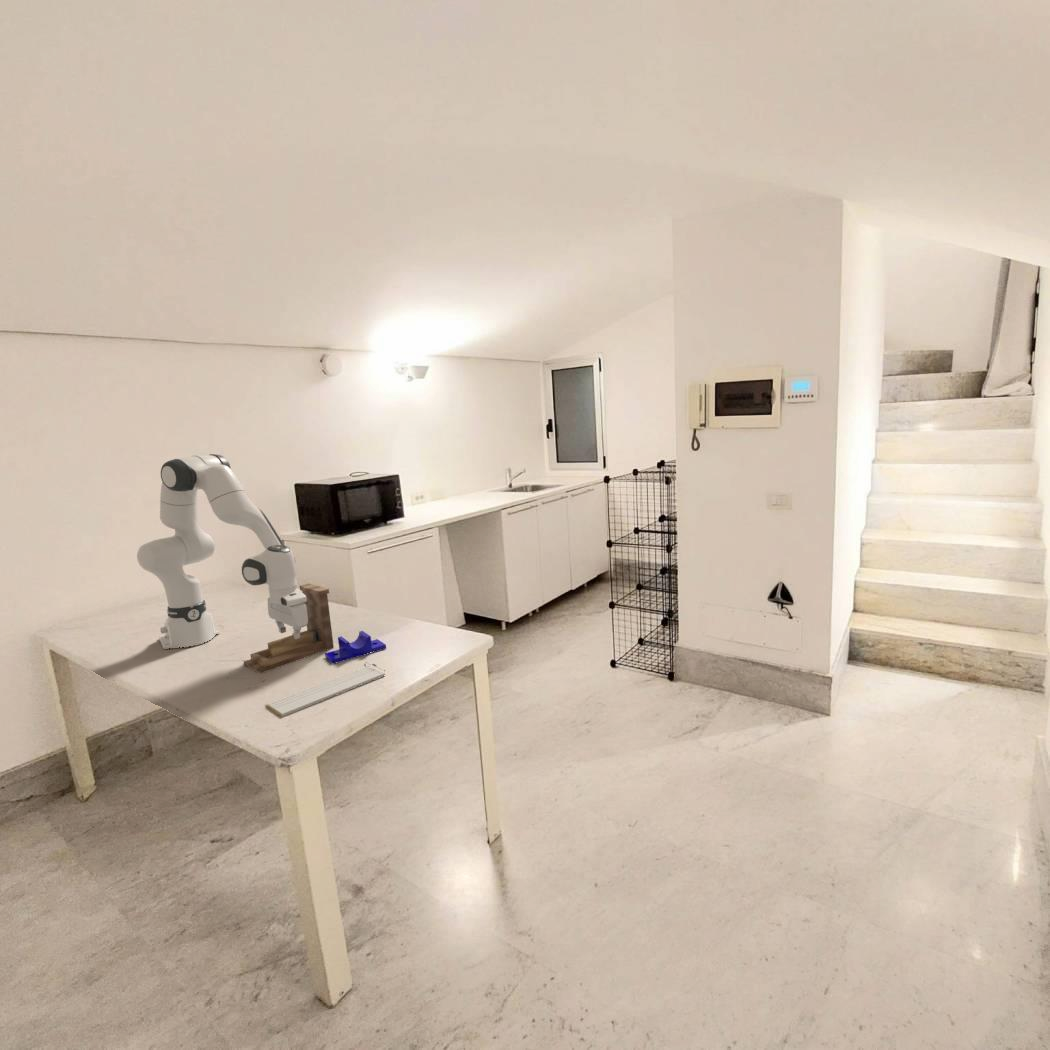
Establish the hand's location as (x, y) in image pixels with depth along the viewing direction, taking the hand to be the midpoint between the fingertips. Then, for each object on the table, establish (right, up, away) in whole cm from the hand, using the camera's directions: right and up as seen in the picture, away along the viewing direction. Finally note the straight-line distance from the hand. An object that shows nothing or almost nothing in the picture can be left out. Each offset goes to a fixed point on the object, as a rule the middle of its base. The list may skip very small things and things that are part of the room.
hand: (289, 635), depth 197 cm
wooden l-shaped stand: (0, -7, 0) cm, 7 cm away
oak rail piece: (+1, -6, +1) cm, 6 cm away
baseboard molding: (+21, -11, -27) cm, 36 cm away
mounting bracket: (+22, -6, -1) cm, 23 cm away
